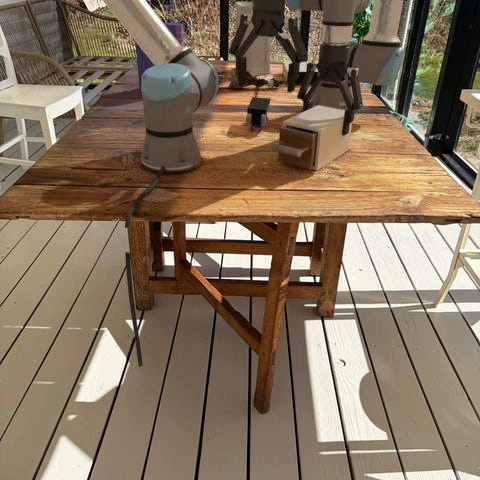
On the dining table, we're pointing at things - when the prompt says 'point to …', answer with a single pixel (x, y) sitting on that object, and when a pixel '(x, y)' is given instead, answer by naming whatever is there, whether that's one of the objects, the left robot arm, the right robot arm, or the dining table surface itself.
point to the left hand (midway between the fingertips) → (266, 88)
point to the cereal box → (142, 58)
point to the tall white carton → (254, 44)
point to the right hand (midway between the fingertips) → (325, 129)
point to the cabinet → (324, 132)
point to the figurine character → (257, 112)
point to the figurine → (250, 80)
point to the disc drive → (301, 72)
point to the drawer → (296, 146)
